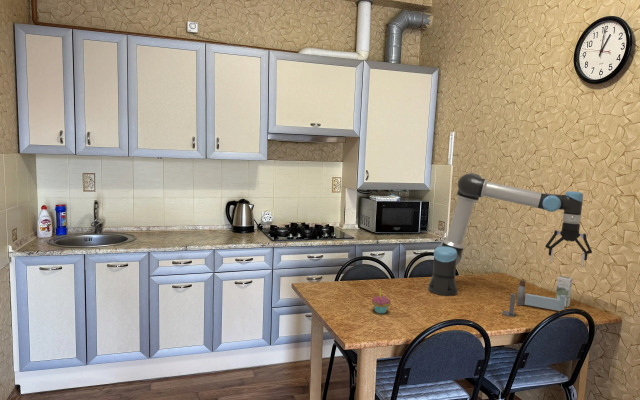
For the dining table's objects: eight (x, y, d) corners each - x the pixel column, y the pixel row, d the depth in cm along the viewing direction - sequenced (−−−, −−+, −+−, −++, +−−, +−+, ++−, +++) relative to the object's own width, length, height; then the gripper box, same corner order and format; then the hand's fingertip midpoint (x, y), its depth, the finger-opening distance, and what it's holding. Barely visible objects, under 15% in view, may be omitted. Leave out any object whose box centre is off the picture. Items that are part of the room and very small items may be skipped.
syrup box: (569, 305, 217) (572, 277, 216) (567, 308, 213) (570, 279, 211) (557, 302, 221) (560, 275, 220) (554, 304, 217) (557, 277, 215)
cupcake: (385, 316, 189) (387, 290, 188) (367, 312, 194) (369, 286, 193) (392, 311, 197) (394, 285, 195) (375, 306, 201) (377, 282, 200)
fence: (517, 303, 217) (519, 285, 216) (518, 296, 228) (520, 279, 227) (523, 304, 216) (524, 286, 215) (524, 297, 227) (525, 280, 226)
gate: (516, 304, 213) (518, 287, 213) (516, 302, 216) (518, 285, 215) (563, 313, 204) (565, 294, 203) (563, 311, 207) (565, 293, 206)
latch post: (502, 314, 199) (504, 293, 198) (503, 311, 203) (504, 291, 202) (513, 317, 196) (515, 296, 195) (514, 313, 201) (516, 293, 200)
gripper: (543, 220, 215) (538, 261, 217) (601, 226, 204) (596, 270, 206) (543, 218, 222) (538, 258, 224) (599, 224, 210) (594, 266, 213)
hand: (566, 264), depth 215 cm, fingers open, 13 cm apart
